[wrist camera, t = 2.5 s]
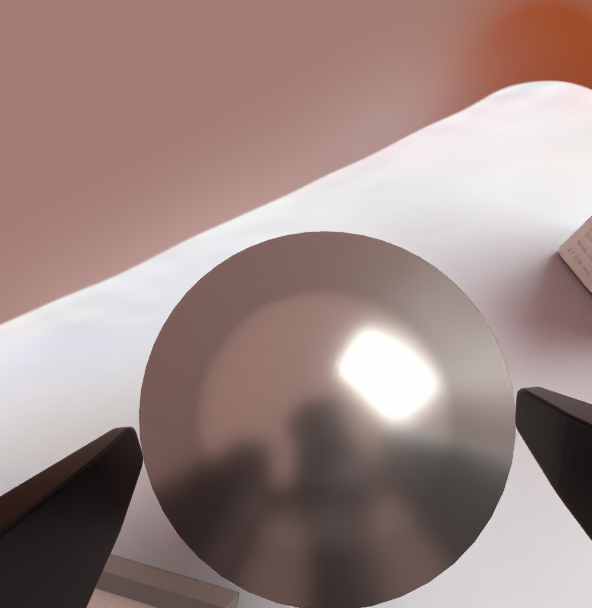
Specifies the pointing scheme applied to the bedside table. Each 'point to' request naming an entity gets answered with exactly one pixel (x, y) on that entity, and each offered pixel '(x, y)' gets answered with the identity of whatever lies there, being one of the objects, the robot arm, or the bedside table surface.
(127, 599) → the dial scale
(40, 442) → the bedside table surface
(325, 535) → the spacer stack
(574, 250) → the skincare box
